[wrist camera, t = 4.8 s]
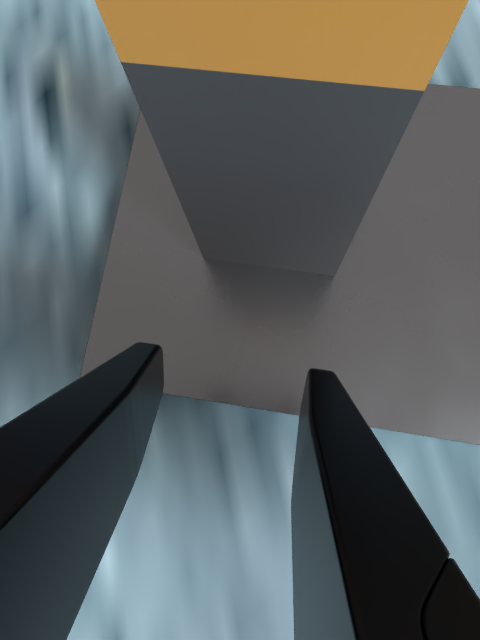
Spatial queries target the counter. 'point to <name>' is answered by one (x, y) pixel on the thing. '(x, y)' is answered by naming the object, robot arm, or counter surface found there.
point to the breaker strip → (317, 291)
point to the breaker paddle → (278, 112)
